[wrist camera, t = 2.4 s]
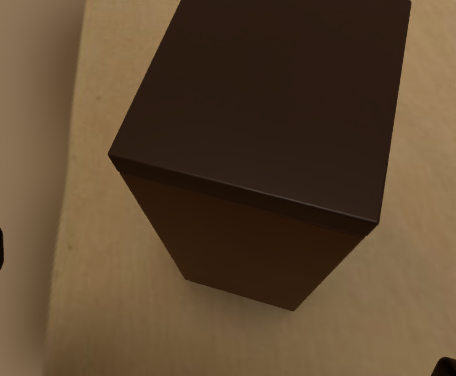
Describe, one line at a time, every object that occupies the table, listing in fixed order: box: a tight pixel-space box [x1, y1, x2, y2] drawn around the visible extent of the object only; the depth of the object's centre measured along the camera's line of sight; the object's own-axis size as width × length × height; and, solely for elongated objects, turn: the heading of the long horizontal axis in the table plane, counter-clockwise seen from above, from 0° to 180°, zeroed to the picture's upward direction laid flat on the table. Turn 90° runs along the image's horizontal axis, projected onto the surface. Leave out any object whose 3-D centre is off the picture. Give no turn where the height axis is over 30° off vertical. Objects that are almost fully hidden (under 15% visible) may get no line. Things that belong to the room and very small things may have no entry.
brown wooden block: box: [108, 0, 411, 311], centre depth 14 cm, size 6×6×12 cm
